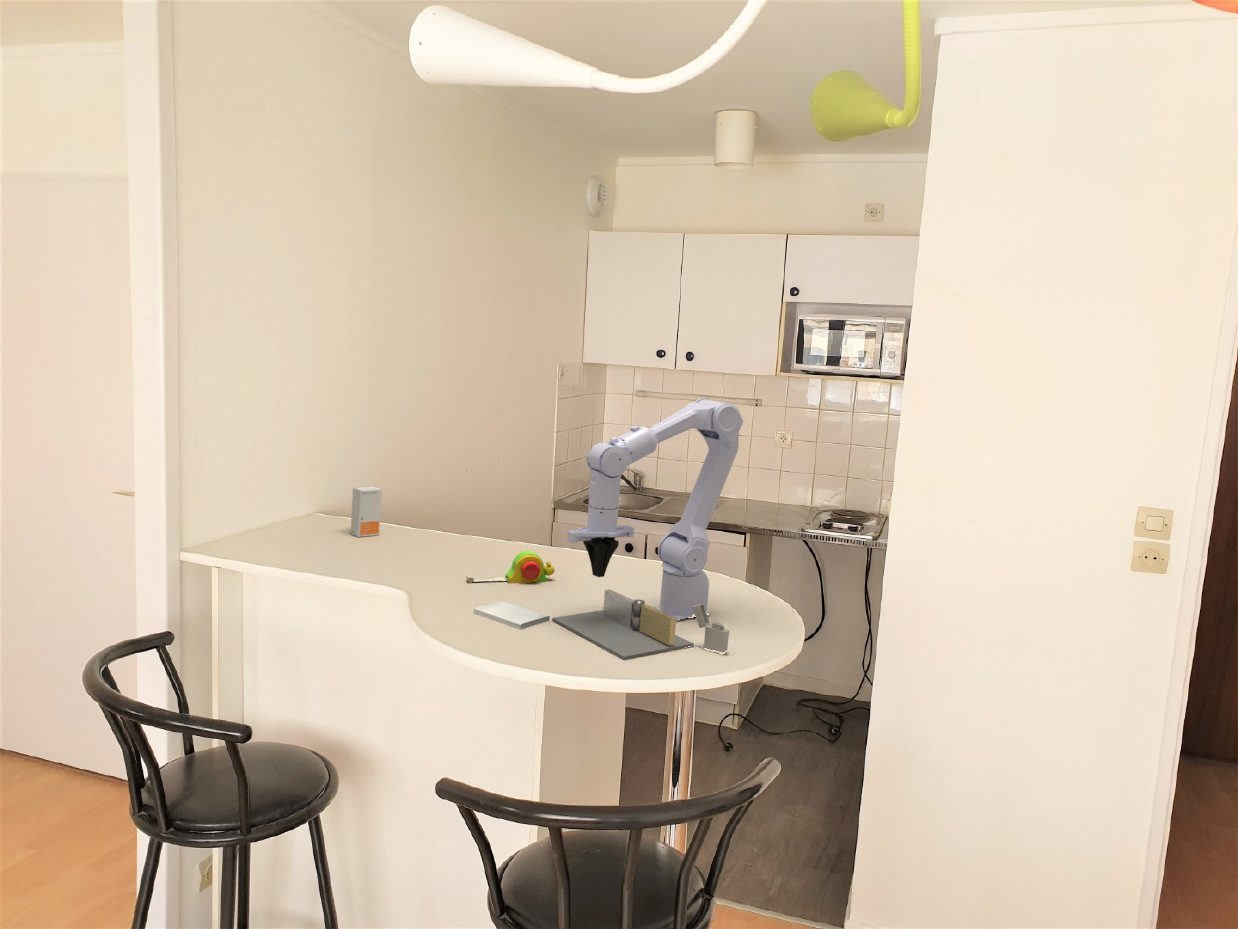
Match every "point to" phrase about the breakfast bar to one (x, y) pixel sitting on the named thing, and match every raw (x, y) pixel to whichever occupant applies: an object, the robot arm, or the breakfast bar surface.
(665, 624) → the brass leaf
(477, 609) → the hard drive
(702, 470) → the robot arm
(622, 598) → the hinge base
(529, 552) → the toy measuring tape
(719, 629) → the lighter
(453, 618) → the breakfast bar surface
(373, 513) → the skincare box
